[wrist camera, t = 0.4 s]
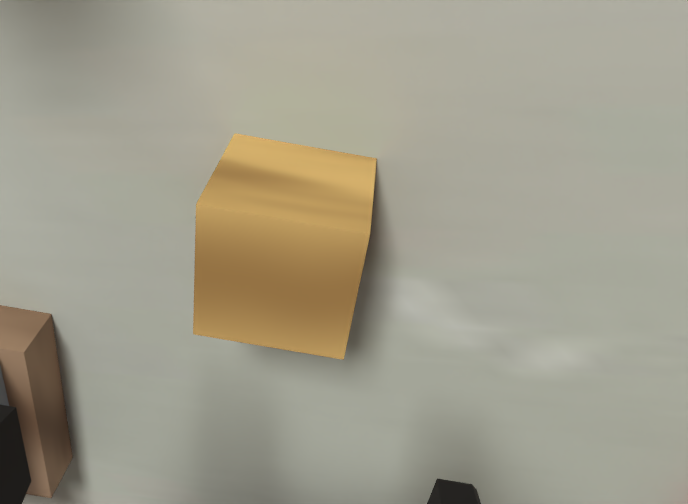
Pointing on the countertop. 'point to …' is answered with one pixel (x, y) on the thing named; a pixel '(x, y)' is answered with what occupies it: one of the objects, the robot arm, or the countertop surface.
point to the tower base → (36, 394)
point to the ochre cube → (282, 245)
